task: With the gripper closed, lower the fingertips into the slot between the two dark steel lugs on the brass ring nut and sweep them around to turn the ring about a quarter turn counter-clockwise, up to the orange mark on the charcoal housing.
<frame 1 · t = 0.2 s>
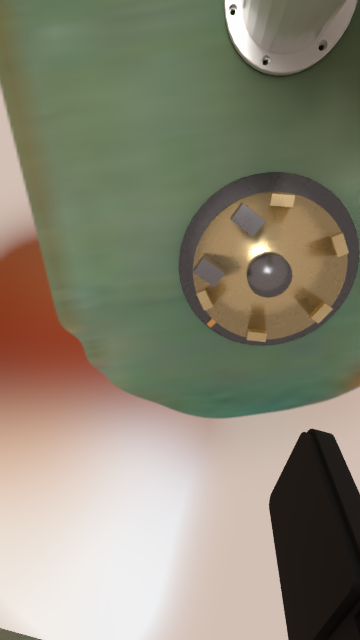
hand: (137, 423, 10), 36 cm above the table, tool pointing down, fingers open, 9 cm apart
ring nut: (268, 273, 39), point 4 cm above the table, hinge at 0.0°
housing: (263, 264, 43), on the table
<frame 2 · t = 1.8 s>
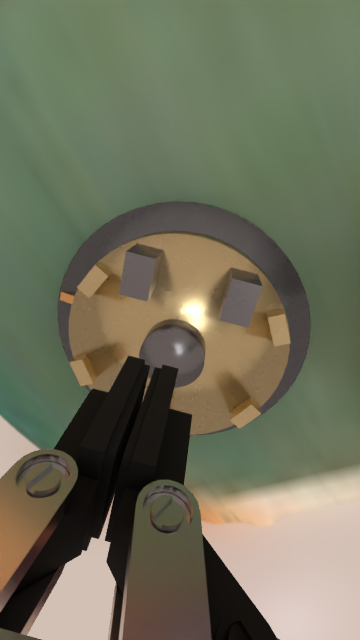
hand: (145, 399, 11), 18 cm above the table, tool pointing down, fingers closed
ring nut: (174, 350, 26), point 4 cm above the table, hinge at 0.0°
housing: (180, 328, 30), on the table
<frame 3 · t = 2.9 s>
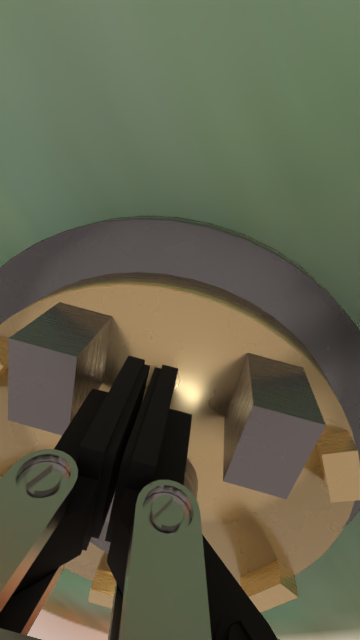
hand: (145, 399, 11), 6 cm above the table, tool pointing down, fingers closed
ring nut: (140, 488, 14), point 4 cm above the table, hinge at 0.0°
housing: (159, 423, 18), on the table
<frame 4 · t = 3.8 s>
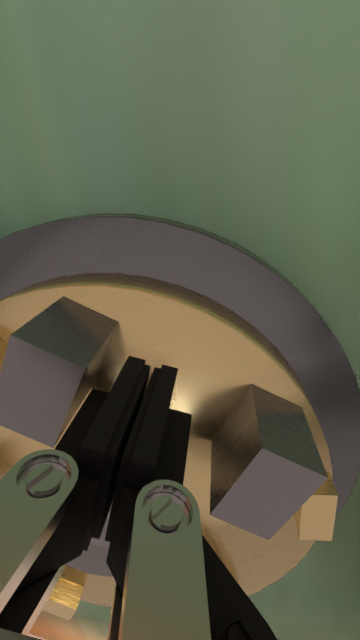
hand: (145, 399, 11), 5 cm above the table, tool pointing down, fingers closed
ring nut: (108, 499, 14), point 4 cm above the table, hinge at 8.5°, touching gripper
housing: (132, 429, 17), on the table
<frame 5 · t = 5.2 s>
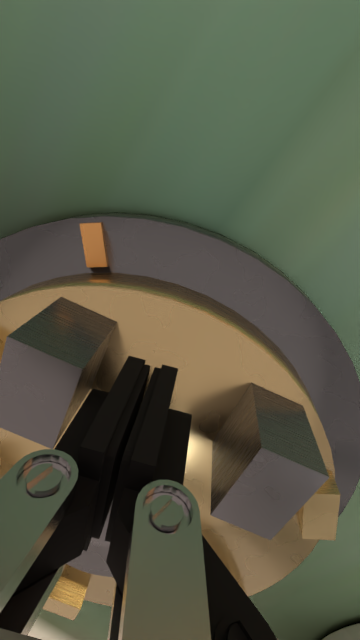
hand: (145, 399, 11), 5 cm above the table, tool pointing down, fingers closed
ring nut: (109, 499, 14), point 4 cm above the table, hinge at 57.9°, touching gripper
housing: (134, 429, 17), on the table
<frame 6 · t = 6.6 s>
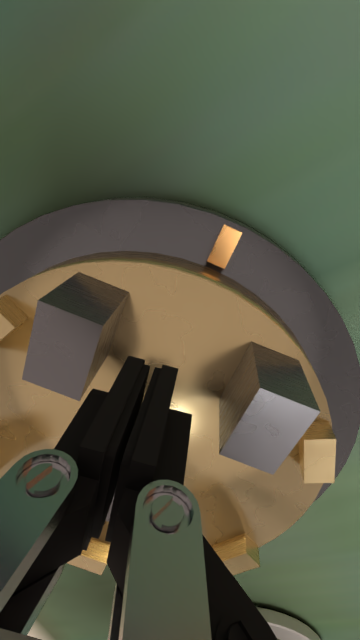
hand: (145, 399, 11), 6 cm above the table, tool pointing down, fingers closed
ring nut: (129, 457, 15), point 4 cm above the table, hinge at 86.6°
housing: (147, 400, 19), on the table
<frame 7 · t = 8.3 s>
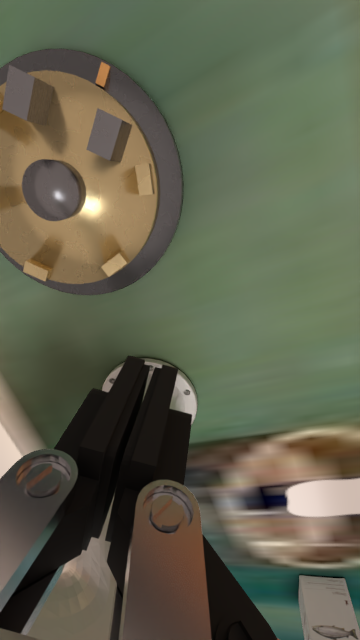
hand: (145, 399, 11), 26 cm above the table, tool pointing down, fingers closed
supplement box: (319, 586, 55), on the table
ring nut: (57, 190, 30), point 4 cm above the table, hinge at 86.6°
housing: (76, 188, 33), on the table
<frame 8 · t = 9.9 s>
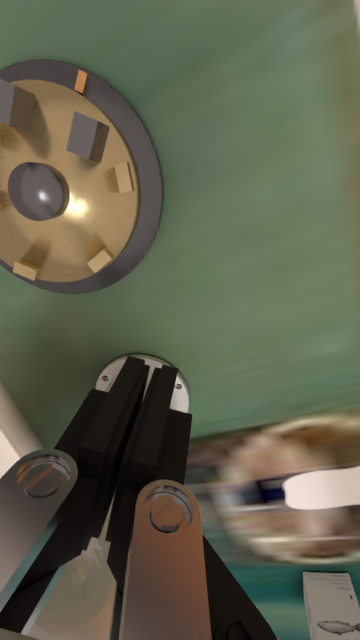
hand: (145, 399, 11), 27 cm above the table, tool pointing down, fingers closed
supplement box: (324, 583, 55), on the table
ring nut: (42, 192, 31), point 4 cm above the table, hinge at 86.6°
housing: (62, 191, 35), on the table
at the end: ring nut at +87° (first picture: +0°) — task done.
